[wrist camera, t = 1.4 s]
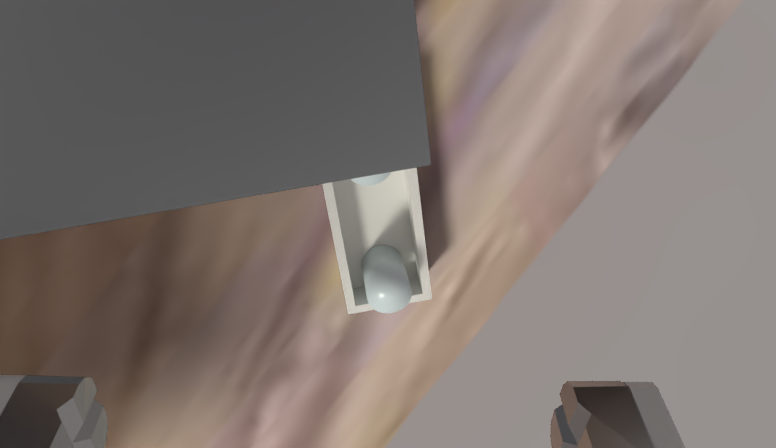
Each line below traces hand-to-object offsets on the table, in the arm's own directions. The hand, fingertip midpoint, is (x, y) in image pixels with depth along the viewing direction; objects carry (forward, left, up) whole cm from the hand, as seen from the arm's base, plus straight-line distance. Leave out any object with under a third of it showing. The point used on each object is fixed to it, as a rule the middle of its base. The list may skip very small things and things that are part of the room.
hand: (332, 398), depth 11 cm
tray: (-11, -2, -30) cm, 32 cm away
